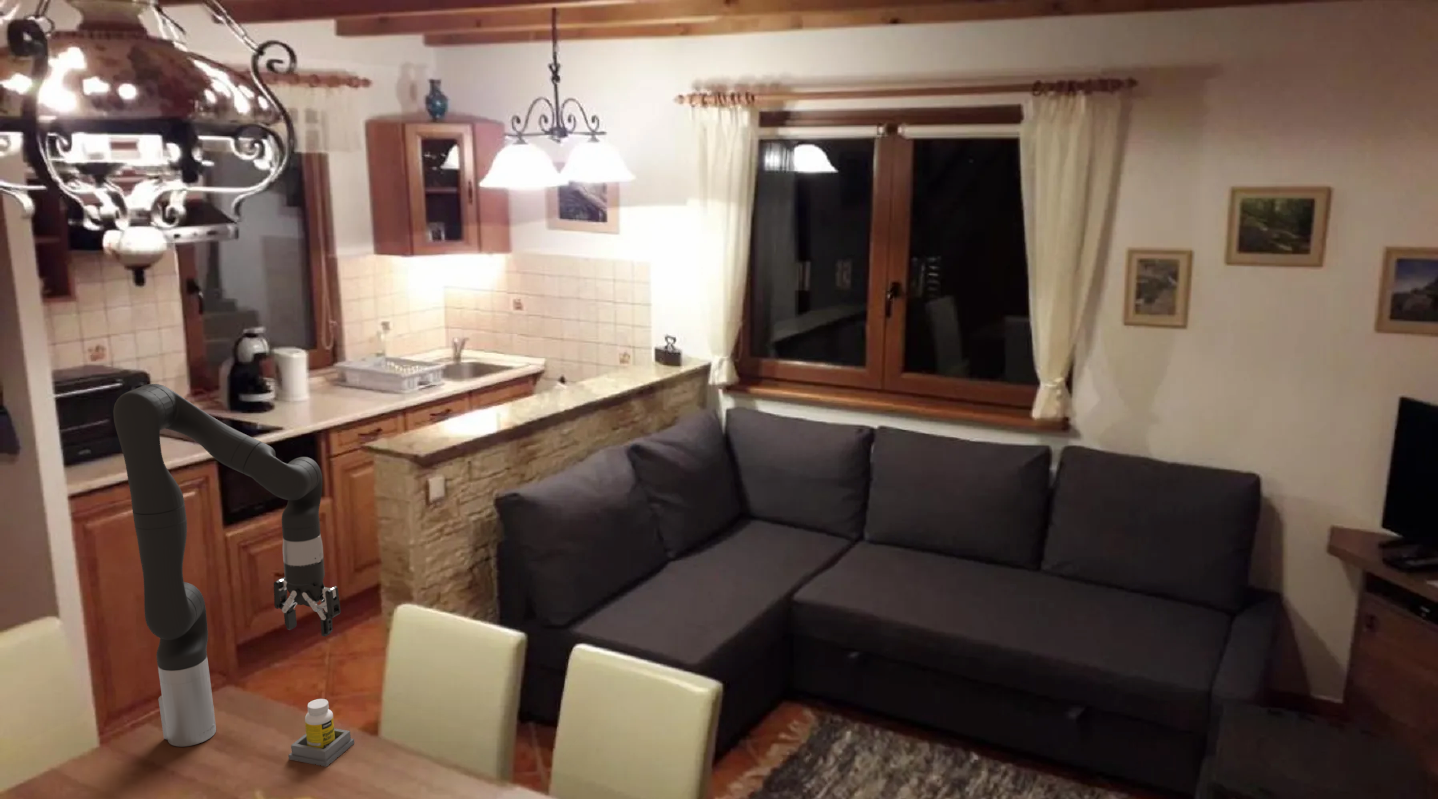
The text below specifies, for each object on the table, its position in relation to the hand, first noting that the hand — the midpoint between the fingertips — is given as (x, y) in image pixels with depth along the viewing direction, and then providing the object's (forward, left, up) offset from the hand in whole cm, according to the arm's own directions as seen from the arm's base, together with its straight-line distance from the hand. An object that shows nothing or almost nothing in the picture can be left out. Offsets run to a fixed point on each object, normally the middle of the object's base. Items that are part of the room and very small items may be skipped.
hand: (309, 631), depth 218 cm
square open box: (+4, -4, -24) cm, 25 cm away
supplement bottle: (+4, -4, -24) cm, 24 cm away
